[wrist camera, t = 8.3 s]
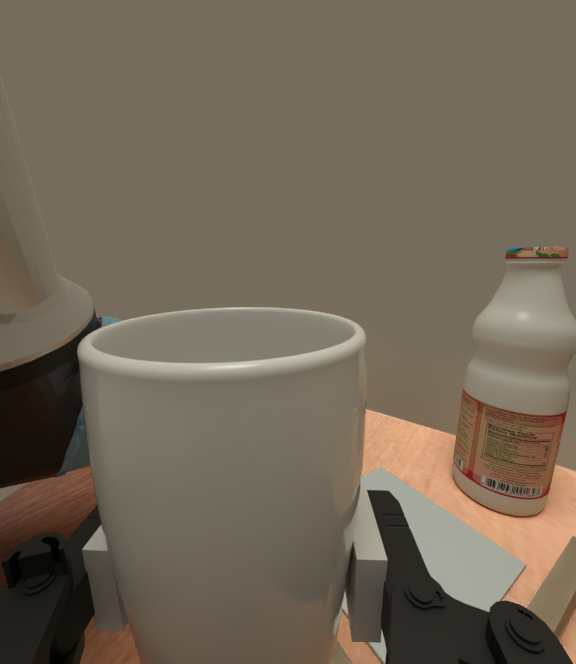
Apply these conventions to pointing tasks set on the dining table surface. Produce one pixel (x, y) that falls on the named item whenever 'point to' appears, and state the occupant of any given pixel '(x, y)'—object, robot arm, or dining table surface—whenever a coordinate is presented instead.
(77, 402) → the robot arm
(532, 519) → the dining table surface
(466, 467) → the fruit juice
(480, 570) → the pad
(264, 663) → the drinking glass
